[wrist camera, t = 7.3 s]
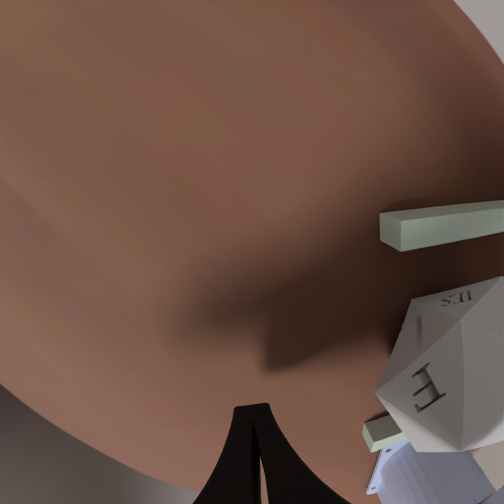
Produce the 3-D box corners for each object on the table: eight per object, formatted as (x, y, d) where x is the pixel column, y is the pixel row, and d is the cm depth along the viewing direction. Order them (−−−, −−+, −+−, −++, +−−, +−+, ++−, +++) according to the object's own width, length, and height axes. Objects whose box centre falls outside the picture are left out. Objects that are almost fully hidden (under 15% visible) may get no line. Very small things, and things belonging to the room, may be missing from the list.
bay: (488, 378, 16) (500, 390, 15) (362, 433, 16) (370, 452, 14) (525, 198, 12) (545, 203, 11) (379, 213, 12) (400, 221, 10)
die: (457, 223, 13) (485, 313, 6) (542, 313, 11) (582, 432, 3) (374, 322, 18) (317, 438, 10) (457, 391, 15) (437, 510, 8)
